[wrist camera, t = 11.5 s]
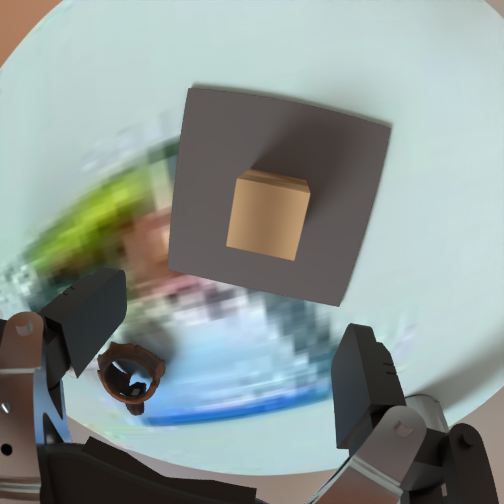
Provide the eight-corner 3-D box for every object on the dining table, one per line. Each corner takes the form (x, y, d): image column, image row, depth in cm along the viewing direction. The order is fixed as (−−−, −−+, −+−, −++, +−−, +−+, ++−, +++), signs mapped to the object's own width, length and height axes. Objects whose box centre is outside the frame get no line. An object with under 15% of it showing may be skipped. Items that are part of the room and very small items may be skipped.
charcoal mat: (388, 128, 22) (390, 128, 22) (338, 304, 29) (339, 306, 29) (190, 89, 23) (188, 88, 23) (169, 267, 30) (167, 269, 30)
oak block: (306, 180, 25) (310, 193, 19) (294, 233, 27) (294, 260, 21) (249, 168, 25) (237, 178, 20) (240, 222, 27) (226, 246, 21)
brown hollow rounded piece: (95, 331, 37) (82, 353, 29) (156, 321, 40) (155, 342, 32) (118, 401, 38) (113, 431, 30) (175, 392, 41) (180, 422, 33)
